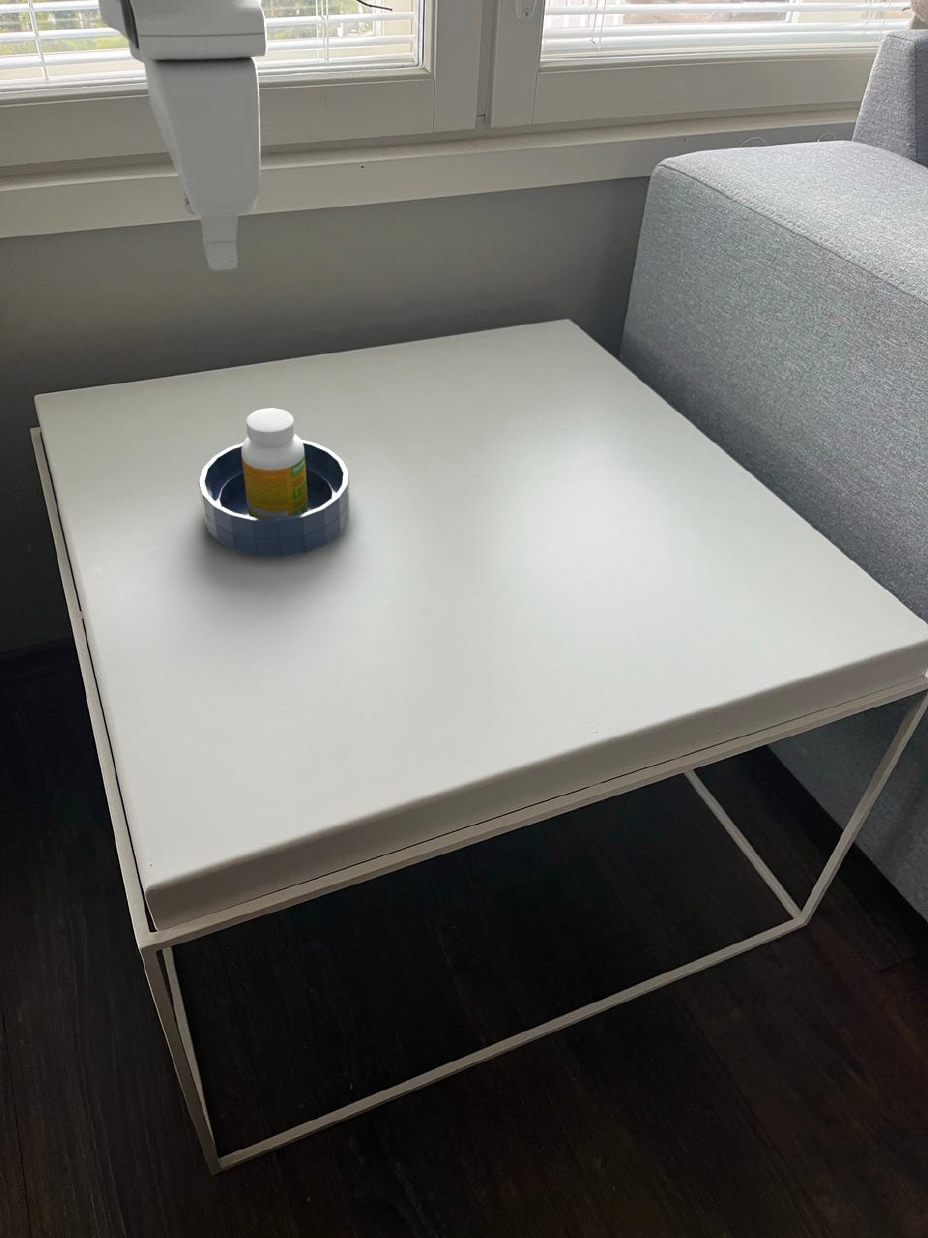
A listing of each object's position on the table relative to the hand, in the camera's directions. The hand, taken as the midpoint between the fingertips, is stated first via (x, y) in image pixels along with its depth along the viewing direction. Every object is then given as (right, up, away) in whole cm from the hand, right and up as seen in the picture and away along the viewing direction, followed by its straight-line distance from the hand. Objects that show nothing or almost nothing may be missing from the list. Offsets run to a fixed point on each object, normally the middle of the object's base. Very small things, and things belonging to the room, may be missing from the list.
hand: (209, 236), depth 63 cm
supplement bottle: (0, -15, +26) cm, 30 cm away
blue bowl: (-1, -16, +26) cm, 30 cm away
